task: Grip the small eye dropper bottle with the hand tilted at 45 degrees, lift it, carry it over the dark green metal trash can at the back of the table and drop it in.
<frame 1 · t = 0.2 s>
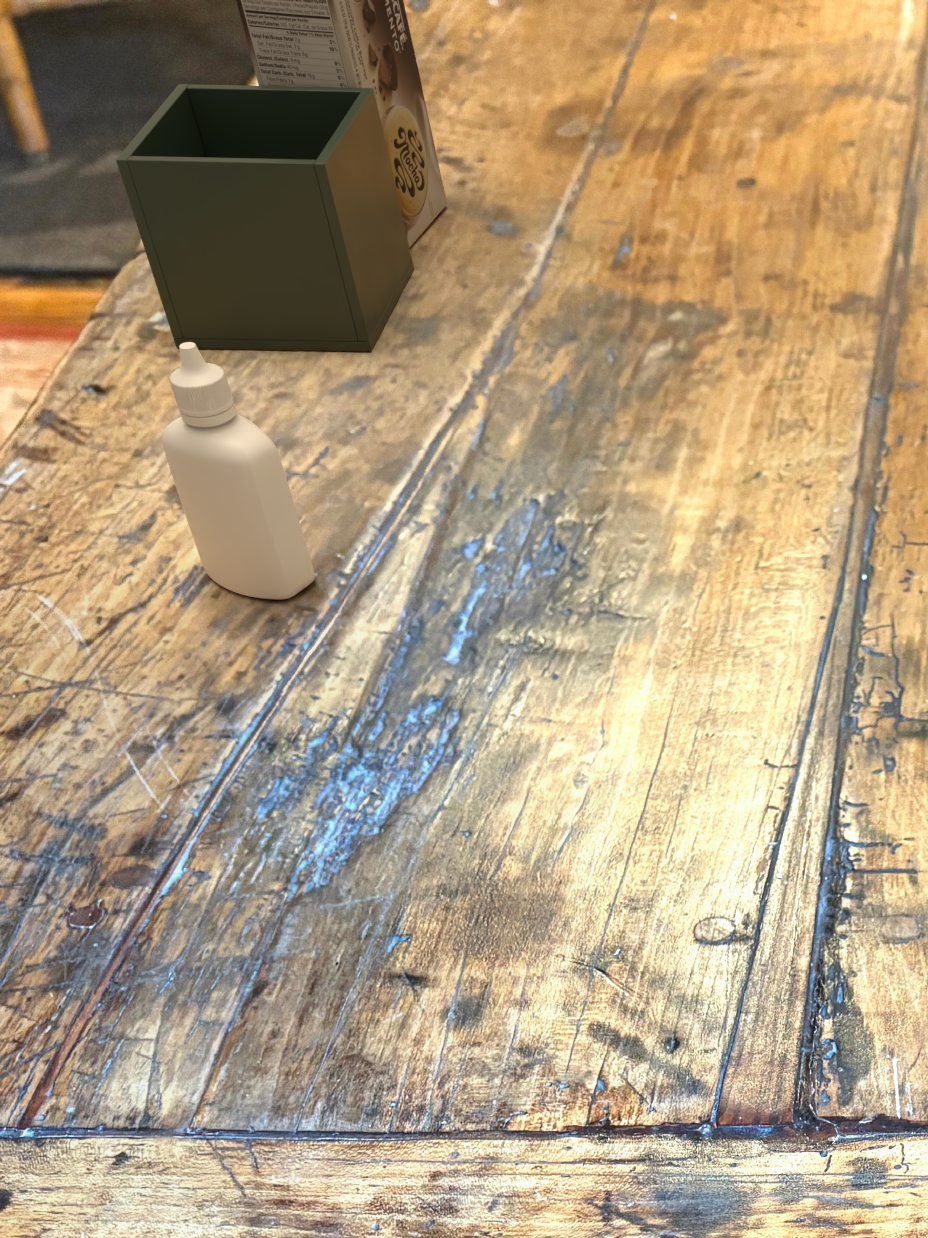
coffee box: (377, 234, 126), on the table
trash can: (299, 307, 119), on the table
eye dropper bottle: (262, 582, 98), on the table
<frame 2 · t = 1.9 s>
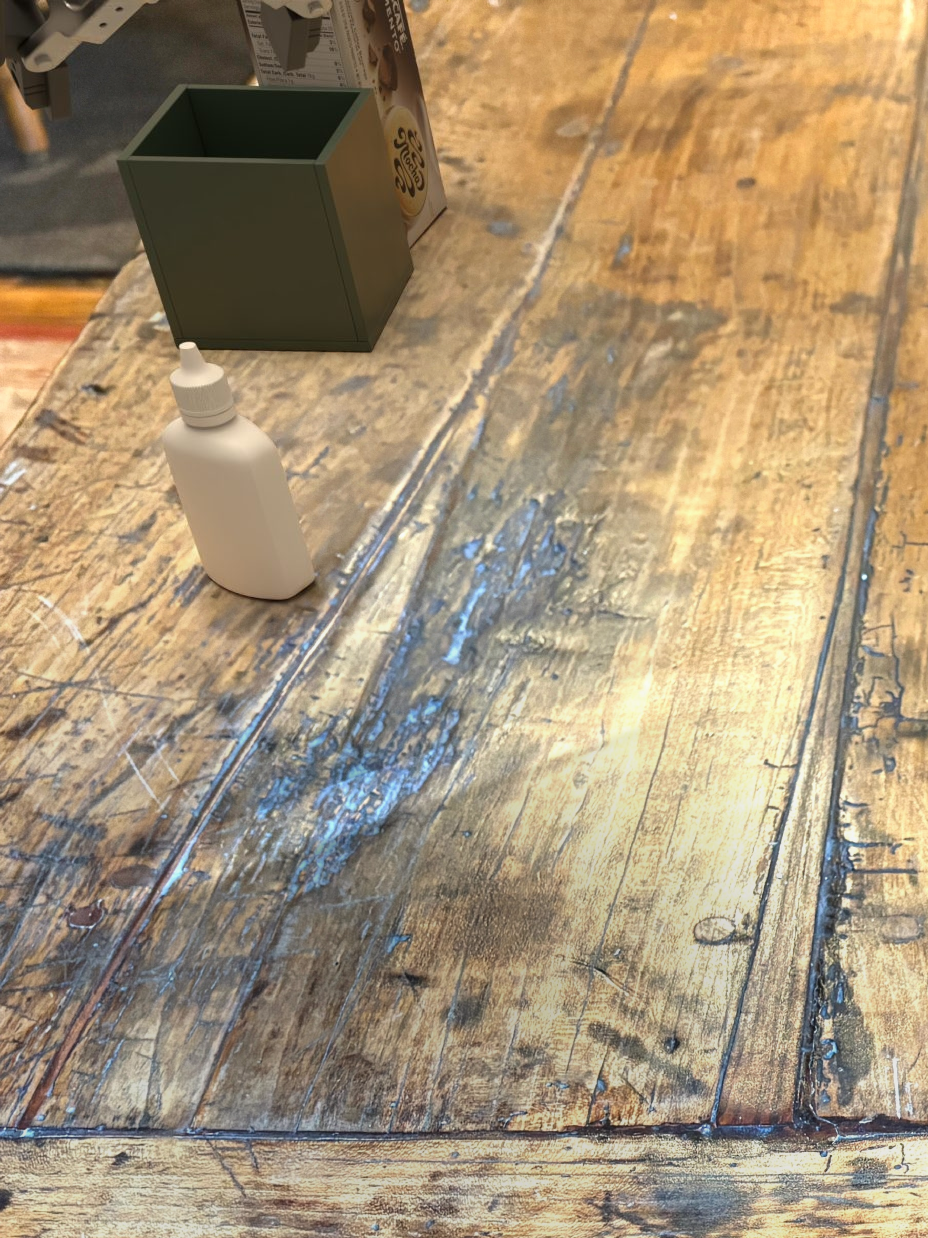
hand: (167, 70, 72), 27 cm above the table, tool tilted 45°, fingers open, 8 cm apart
nothing on the table moved.
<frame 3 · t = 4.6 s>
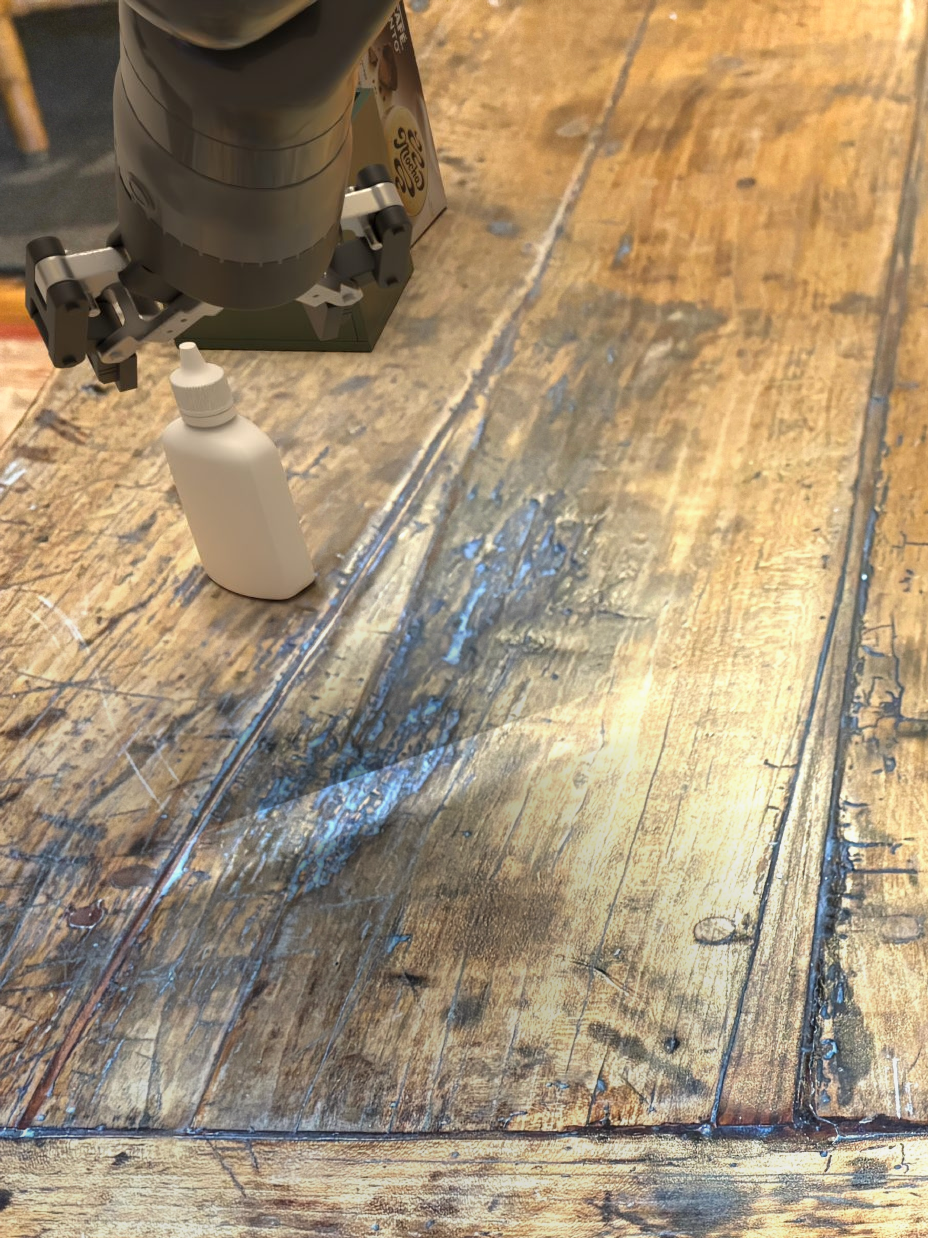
hand: (219, 343, 84), 15 cm above the table, tool tilted 45°, fingers open, 8 cm apart
nothing on the table moved.
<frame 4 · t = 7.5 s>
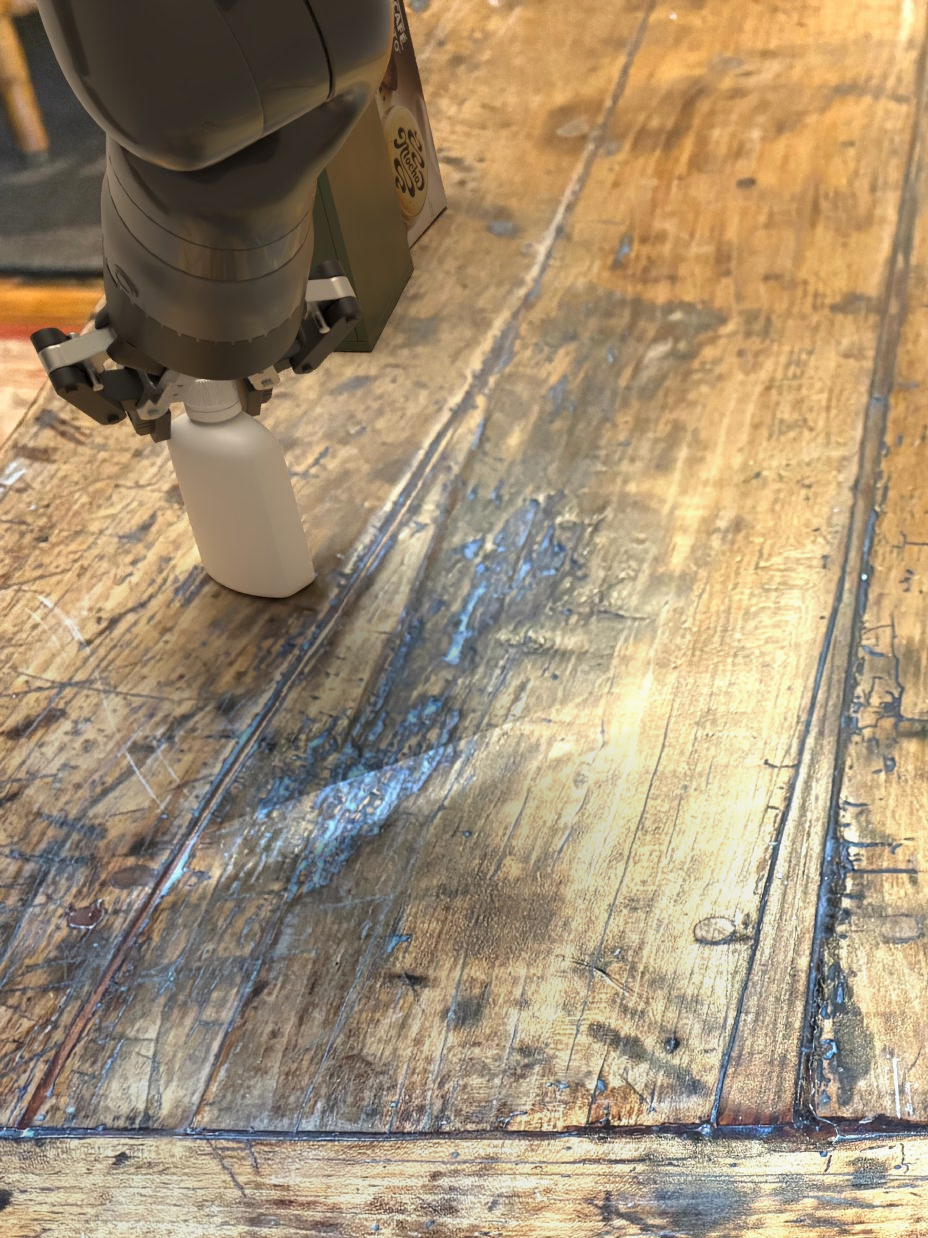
hand: (197, 409, 93), 8 cm above the table, tool tilted 45°, fingers closed on eye dropper bottle, 3 cm apart
eye dropper bottle: (262, 581, 98), on the table, touching gripper
everything else where it was.
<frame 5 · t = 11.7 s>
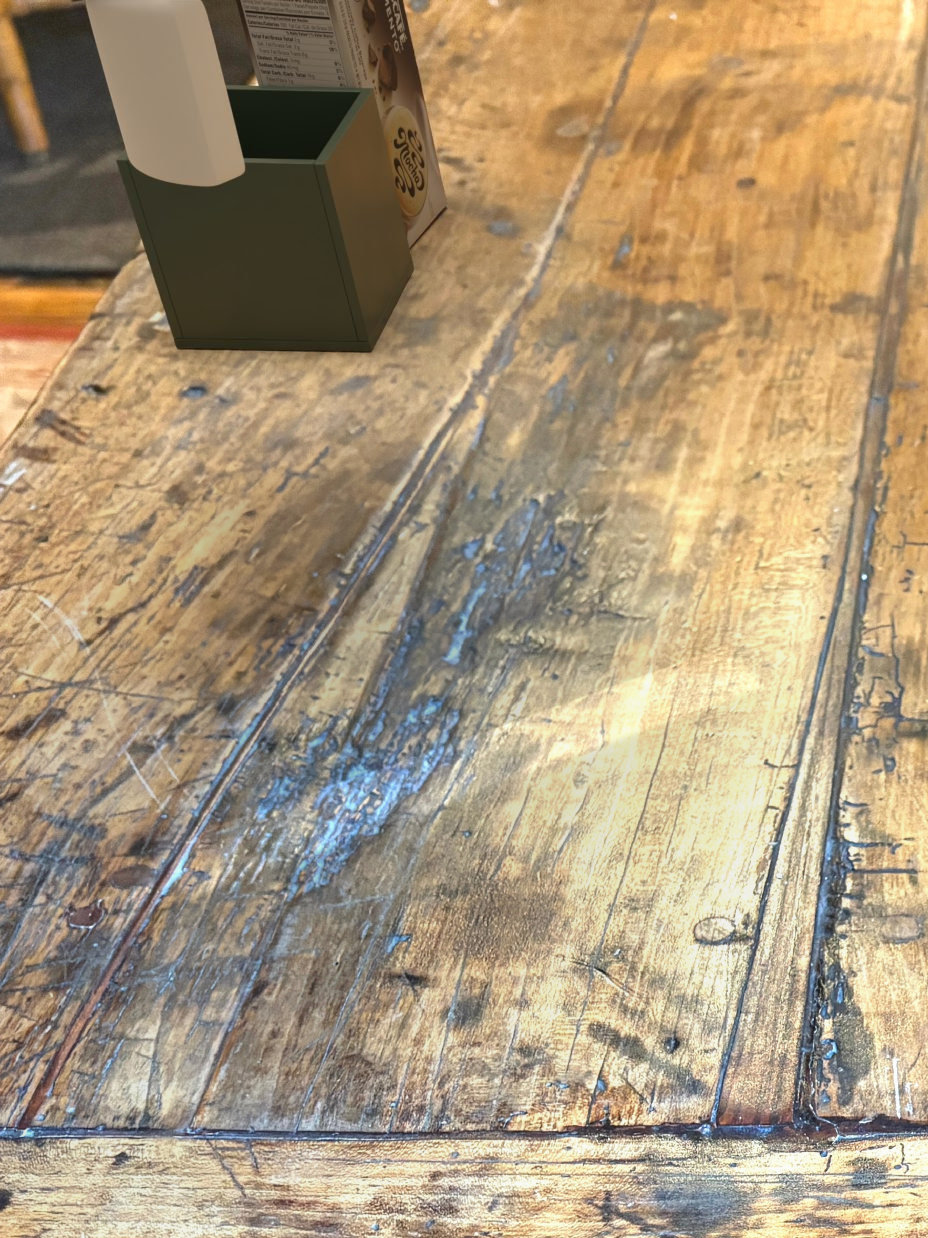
eye dropper bottle: (190, 176, 93), point 16 cm above the table, touching gripper
everything else where it was.
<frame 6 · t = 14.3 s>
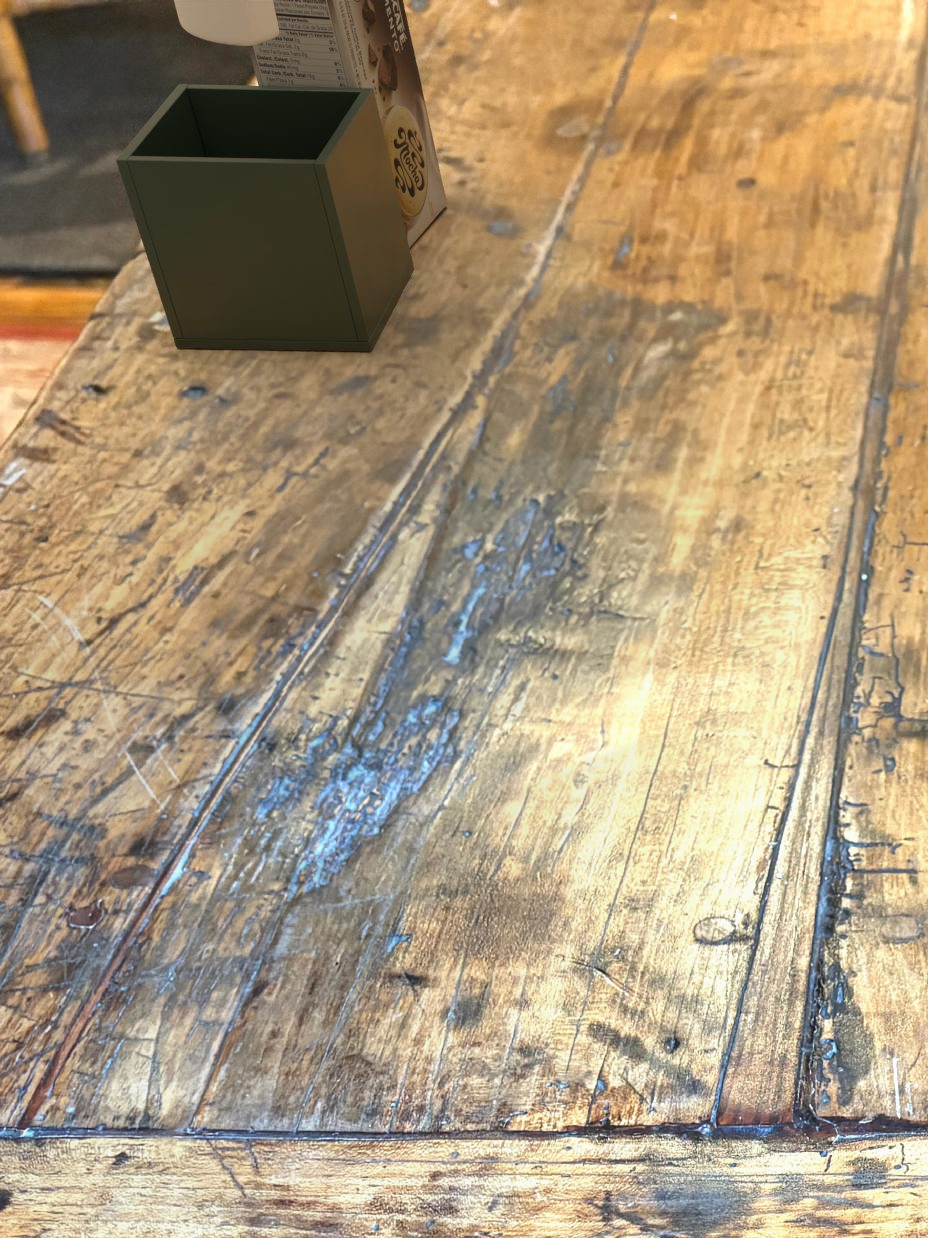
eye dropper bottle: (232, 38, 107), point 15 cm above the table, touching gripper
everything else where it was.
when the fingers open (18 cm above the table, at t = 16.3 s): eye dropper bottle drops 8 cm, resting on trash can.
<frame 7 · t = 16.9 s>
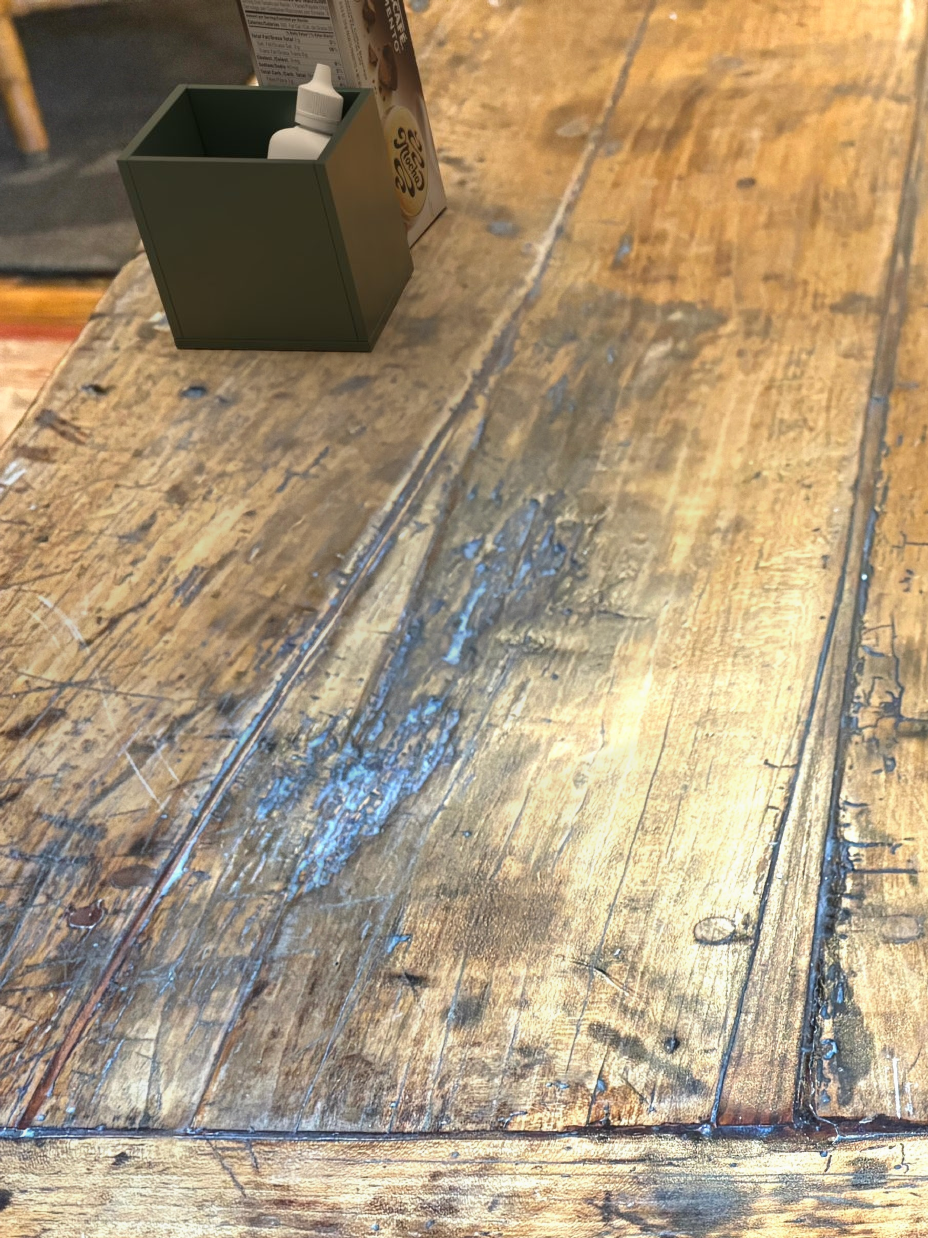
eye dropper bottle: (301, 286, 118), point 1 cm above the table, touching trash can
everything else where it was.
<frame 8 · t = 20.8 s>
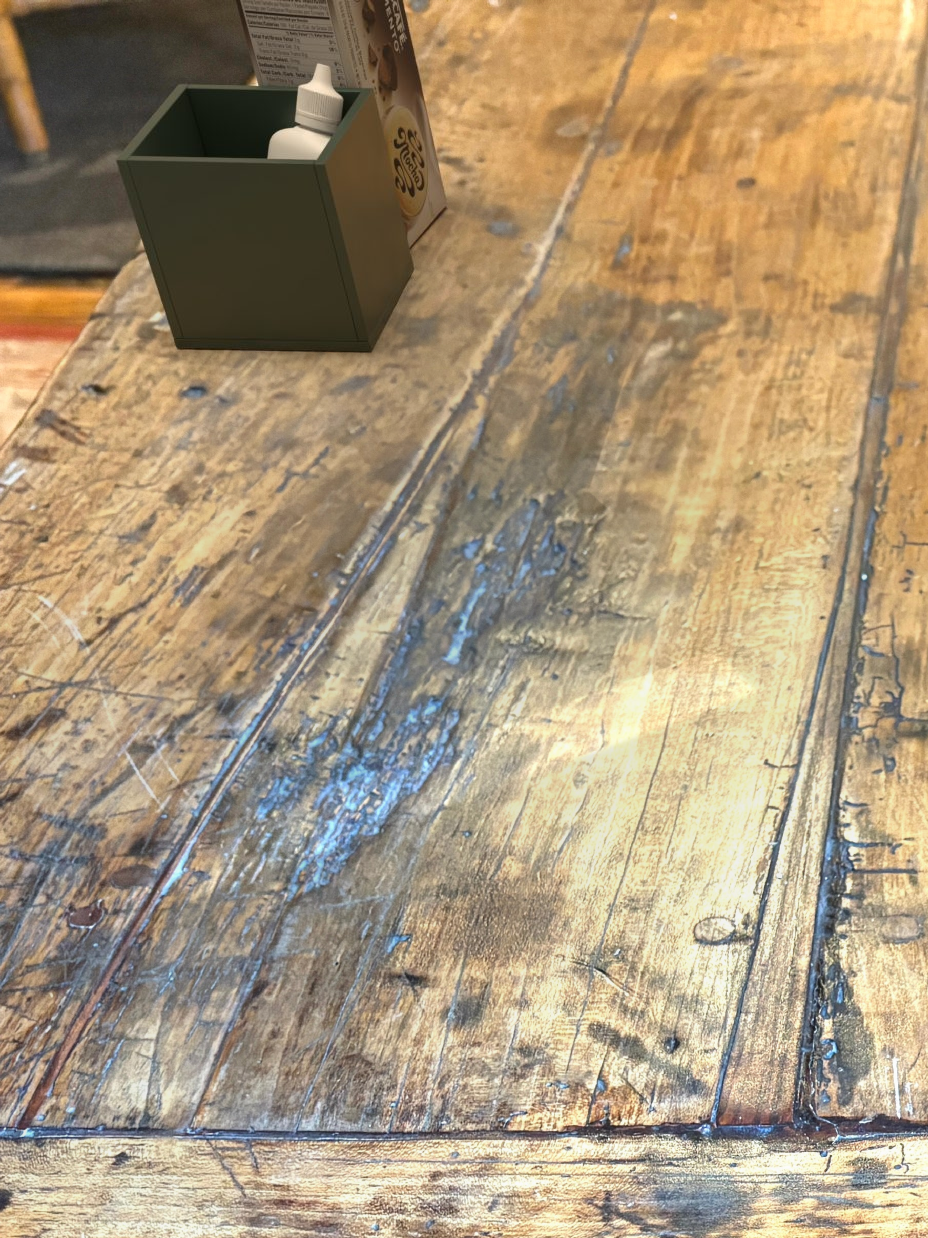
nothing on the table moved.
at the end: eye dropper bottle inside the target area in the trash can (0.4 cm from its centre), point 1.2 cm above the trash can's base; the gripper is holding nothing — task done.
